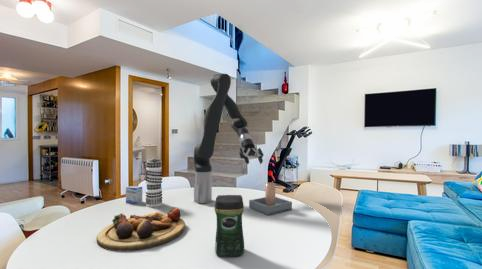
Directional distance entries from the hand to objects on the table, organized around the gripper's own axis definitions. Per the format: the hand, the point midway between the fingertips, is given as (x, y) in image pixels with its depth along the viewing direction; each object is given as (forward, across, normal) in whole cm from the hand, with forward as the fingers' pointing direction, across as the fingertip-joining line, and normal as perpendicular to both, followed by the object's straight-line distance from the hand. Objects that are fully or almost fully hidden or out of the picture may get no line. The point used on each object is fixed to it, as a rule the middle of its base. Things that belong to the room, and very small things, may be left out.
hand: (255, 162), depth 140 cm
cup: (+26, +1, +4) cm, 26 cm away
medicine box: (-3, -63, +35) cm, 72 cm away
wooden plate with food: (+31, -60, +2) cm, 68 cm away
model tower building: (+4, -53, +29) cm, 60 cm away
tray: (+27, +1, +4) cm, 27 cm away
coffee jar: (+51, -35, -19) cm, 65 cm away
